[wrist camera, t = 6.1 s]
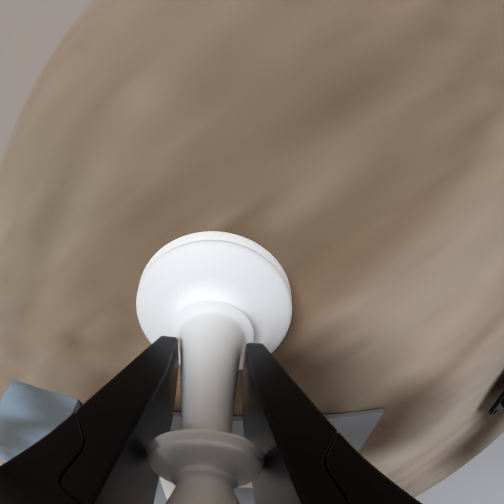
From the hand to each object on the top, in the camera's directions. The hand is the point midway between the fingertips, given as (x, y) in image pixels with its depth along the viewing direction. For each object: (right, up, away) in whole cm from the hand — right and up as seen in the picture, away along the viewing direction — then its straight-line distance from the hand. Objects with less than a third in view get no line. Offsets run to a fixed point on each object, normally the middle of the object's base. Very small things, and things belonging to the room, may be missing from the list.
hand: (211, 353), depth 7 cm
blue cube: (-11, -8, +7) cm, 15 cm away
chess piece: (0, +1, +2) cm, 3 cm away
